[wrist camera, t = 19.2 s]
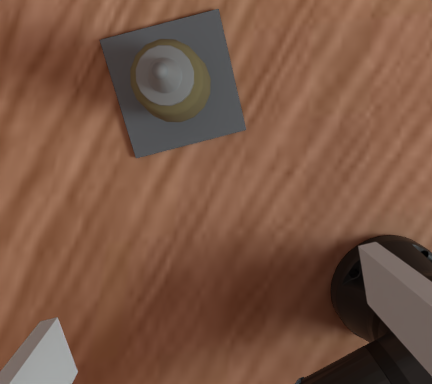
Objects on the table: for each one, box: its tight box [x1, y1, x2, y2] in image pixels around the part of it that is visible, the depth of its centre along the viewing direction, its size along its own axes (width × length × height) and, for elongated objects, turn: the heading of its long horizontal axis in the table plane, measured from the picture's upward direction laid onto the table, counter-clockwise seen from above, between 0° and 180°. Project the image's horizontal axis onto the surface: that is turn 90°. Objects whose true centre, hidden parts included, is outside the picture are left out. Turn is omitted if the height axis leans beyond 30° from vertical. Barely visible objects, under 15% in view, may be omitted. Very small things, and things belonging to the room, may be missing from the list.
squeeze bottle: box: [130, 39, 211, 122], centre depth 33 cm, size 8×8×18 cm
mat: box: [100, 9, 246, 158], centre depth 42 cm, size 14×14×1 cm
